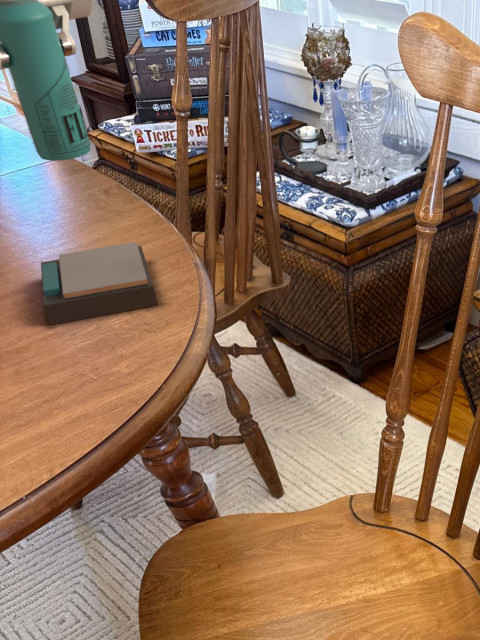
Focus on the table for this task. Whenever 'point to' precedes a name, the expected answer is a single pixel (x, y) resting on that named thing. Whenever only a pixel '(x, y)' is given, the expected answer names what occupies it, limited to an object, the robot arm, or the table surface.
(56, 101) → the beverage bottle
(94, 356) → the table surface
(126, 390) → the table surface
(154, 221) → the table surface
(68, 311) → the kitchen scale
